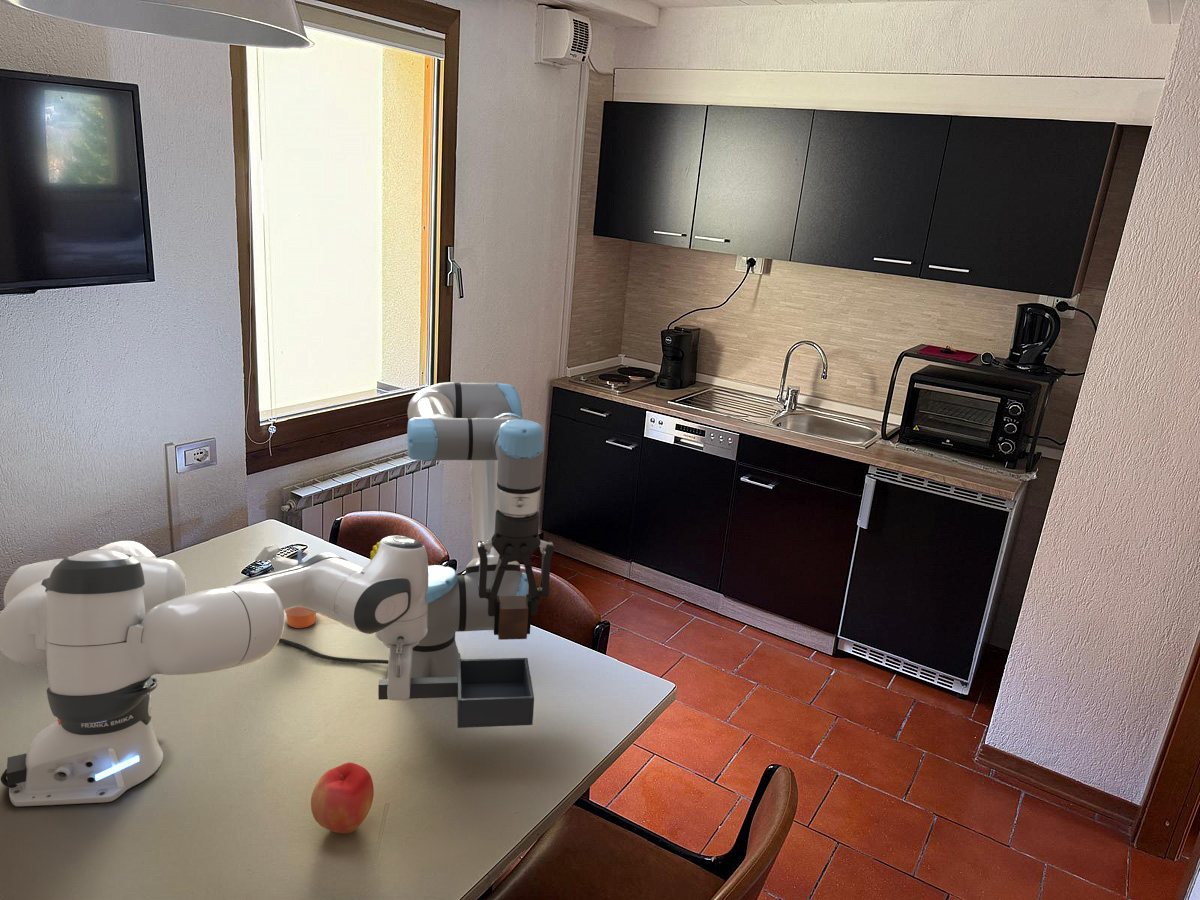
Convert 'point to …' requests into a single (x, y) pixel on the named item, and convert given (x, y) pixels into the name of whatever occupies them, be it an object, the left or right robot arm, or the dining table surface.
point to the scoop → (481, 692)
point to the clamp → (278, 563)
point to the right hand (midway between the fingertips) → (511, 630)
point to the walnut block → (513, 617)
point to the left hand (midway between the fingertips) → (401, 692)
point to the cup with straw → (300, 611)
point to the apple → (342, 798)
